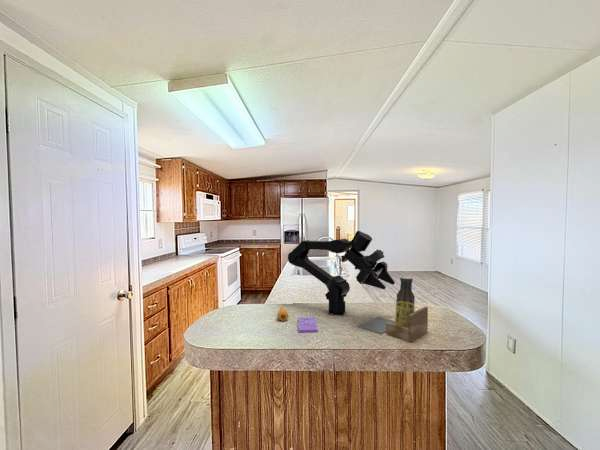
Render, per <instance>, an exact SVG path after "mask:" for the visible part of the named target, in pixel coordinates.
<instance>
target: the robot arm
mask: <svg viewBox="0 0 600 450" xmlns="http://www.w3.org/2000/svg"><path fill="white" fill-rule="evenodd" d="M372 241H373V238H372V236H370V235H369V234H368V233H365V232H362V231H361V230H357V231H356V232H355V235H354V237H352V239H351V240H349V239H347V238H340V239H334V240H308V239H307V240H302V241H301V242H299V244H298V245H296V247H294V249H292V251H290V252H289V253H288V254H287V255H288V256H287V259H288V261H287V262H288V263H289V265H292V266H295V267H297V268H301V269H304V270H305V271H306V272H307V273H309V274H310V275H311V276H313V277H314V278H316V279H317V280H318V281H320V282H321V283H323V284H324V285H325V286H326V289H327V292H326V293H325V298H326V300H328V312H327V314H328V315H340V316H344V313H346V300H345V298H346V297H347V295H348V293H349V292H350V289H351V287H350V283H349V282H348V281H347V280H348V279H345V278H343V276H341V275H340V274H339V275H337V276H333V275H331V274H330V273H328V272H327V270H324V269H323V268H321V267H320V266H318V265H317V264H316V263H314V262H313V261H312V260H310V258H309V255H308V254H309V253H310V250H320V251H328V252H330V253H334V254H342V253H344V255H341V262H342V263H345V262H347V261H348V262H349V263H350V264H351V265H352V266H353V267H354V269H355V270H357V271H359V272H358V273H357V275H356V276H355V278H356V282H357V283H359V284H362V285H367V286H371V287H375V288H377V289H380V290H385V289H386V286H385V284H384V283H383V282H385V283H388V284H390V285H393V286H394V285H395V284H396V282H395V281H394V279H393V278H392V276H391V275H390V273H389V272H388V263H387V262H386V261H380V260H381V259H383V258H385V255H384V251H382V250H381V249H376V250H375V251H373V252H372V253H371V254H370V255H365V254H363V253H362V252H365V251H366V250H367V248H368V247H369V246H370V244H371V242H372ZM378 261H379V262H378ZM382 281H383V282H382Z"/></svg>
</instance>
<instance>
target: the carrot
mask: <svg viewBox="0 0 600 450" xmlns="http://www.w3.org/2000/svg"><path fill="white" fill-rule="evenodd" d="M288 318H289V312H288V311H287V310H286V308H285V307H284V306H280V308H279V310H278V311H277V319H278V320H279V321H280V320H281V322H285V321H287V320H288Z"/></svg>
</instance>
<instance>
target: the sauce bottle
mask: <svg viewBox="0 0 600 450" xmlns="http://www.w3.org/2000/svg"><path fill="white" fill-rule="evenodd" d="M399 280H400V287H399V290H398V292H397V293H396V302H395V318H394V321H395V324H396V325H399V326H403V327H407V328H408V323H409V314H411V313H413V312H415V297H416V296H415V294H414V293H413V291H412V289H413V287H412V285H413V277H411V276H405V275H404V276H400V279H399Z"/></svg>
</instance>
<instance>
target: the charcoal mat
mask: <svg viewBox="0 0 600 450" xmlns="http://www.w3.org/2000/svg"><path fill="white" fill-rule="evenodd" d="M387 322H389V323H392V324H395V320H391V319H388V318H385V317H381V316H377V317H374V318H372V319H370V320H368V321H365V322H363V323H360V324H358V325H357V328H361V329H364V330H367V331H370V332H372V333H373V332H374V333H377V334H379V335H383V334H386V323H387Z"/></svg>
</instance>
